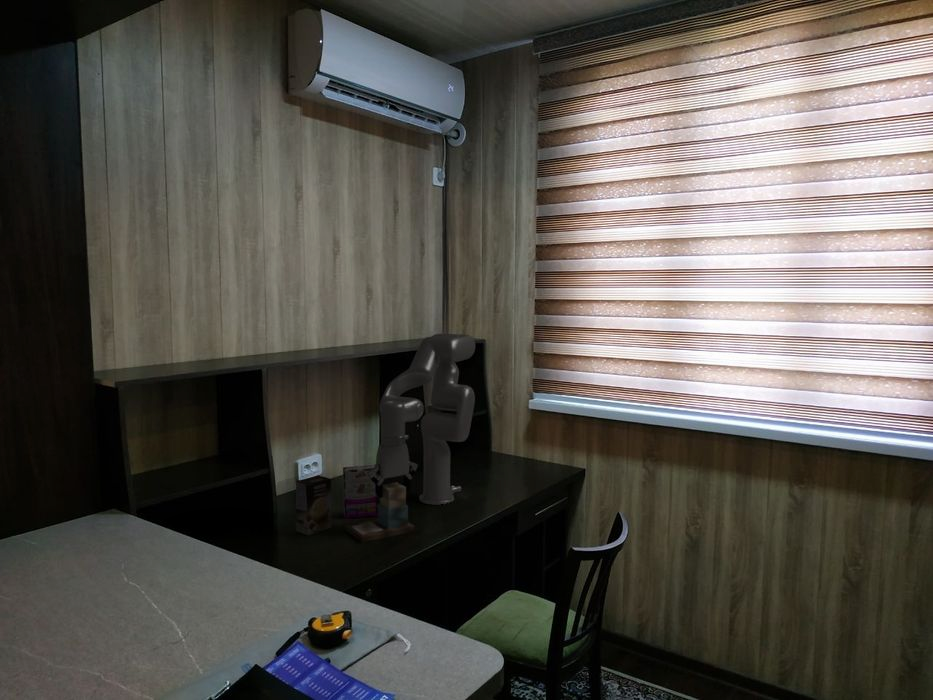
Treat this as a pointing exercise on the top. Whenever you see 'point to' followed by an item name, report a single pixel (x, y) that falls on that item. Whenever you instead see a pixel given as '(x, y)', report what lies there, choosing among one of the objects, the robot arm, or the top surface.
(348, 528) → the base
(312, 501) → the coffee box
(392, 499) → the maple block
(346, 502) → the candy bar box
